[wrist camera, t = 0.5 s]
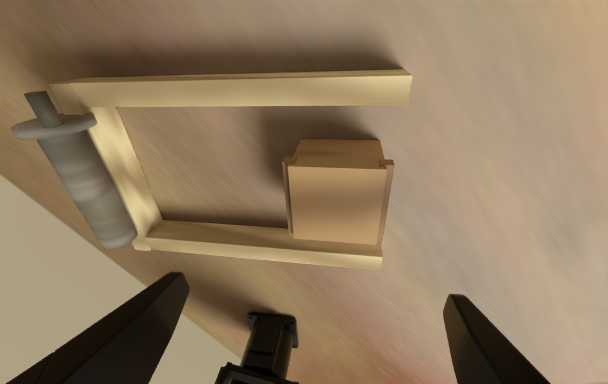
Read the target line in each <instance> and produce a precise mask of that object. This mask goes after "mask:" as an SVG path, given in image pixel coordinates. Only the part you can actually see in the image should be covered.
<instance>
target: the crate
mask: <svg viewBox="0 0 608 384" xmlns="http://www.w3.org/2000/svg"><path fill="white" fill-rule="evenodd" d="M282 166H283V177H284V187H285V198H286V208H287V219H288V229H289V236H294V239H306V240H318V241H331V242H344V243H357V244H370V245H376V243H377V242H380V243H382V240H383V234H384V228H385V221H386V215H387V209H388V202H389V196H390V190H391V183H392V177H393V171H394V163H393V160H385V159H384V155H383V151H382V147H381V143H380V140H338V139H301V140H300V142H299V144H298V146H297V148H296V150H295V152H294V154H293V156H292V157H284V159H283V161H282Z"/></svg>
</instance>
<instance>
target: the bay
mask: <svg viewBox="0 0 608 384" xmlns="http://www.w3.org/2000/svg"><path fill="white" fill-rule="evenodd" d="M412 77H413V75H411V74H410V73H409V72H407V71H406V70H404V69H396V70H358V71H321V72H283V73H246V74H208V75H171V76H133V77H96V78H82V79H76V80H70V81H64V82H58V83H52V84H48V85H49V87H50V89H51V90H52V92H53V94H54V96H55V98H56V100H57V102H58V104H59V106H60V108H61V109H62V111H63V114H58V113H57V111H56V109H55V107H54V105H53V104H52V102H51V100H50V98H49V96H48V94H47V92H46V91H38V92H30V93H25V94H24V95H25V97H26V99H27V101H28V102H29V104H30V106H31V107H32V109H33V111H34V113H35V114H36V116H37V118H36V119H32V120H28V121H24V122H21V123H18V124H16V125H14V126H12V127H11V130H12V132H13V133H14V135H15V136H16V138H17V139H20V140H37V142H38V143H39V145H40V146H41V148H42V150H43V151H44V153H45V155H46V156H47V158H48V159H49V161H50V163H51V164H52V166H53V168H54V169H55V171H56V172H57V174H58V176H59V177H60V179H61V181H62V182H63V184H64V185H65V187H66V189H67V190H68V192H69V194H70V195H71V197H72V198H73V200H74V202H75V203H76V205H77V207H78V208H79V210H80V211H81V213H82V215H83V216H84V218H85V220H86V221H87V223H88V224H89V226H90V228H91V229H92V231H93V233H94V234H95V236H96V237H97V239H98V241H99V242H100V244H101V246H102V247H103V248H104V249H107V250H112V249H117V248H121V247H123V246H125V245H127V244H129V243H131V242H132V244H133V246H134V248H135V250H145V251H150V250H162V251H173V252H184V253H195V254H206V255H217V256H228V257H239V258H250V259H261V260H272V261H282V262H293V263H304V264H315V265H326V266H337V267H348V268H359V269H370V270H381V265H382V259H383V256H382V248H381V243H380V242H377V243H376V245H370V244H357V243H344V242H331V241H318V240H306V239H294V236H289V229H286V228H272V227H258V226H244V225H229V224H215V223H201V222H187V221H173V220H163V219H162V217H161V214H160V212H159V209H158V207H157V205H156V202H155V200H154V197H153V195H152V193H151V190H150V188H149V185H148V183H147V181H146V178H145V176H144V173H143V171H142V169H141V166H140V164H139V161H138V159H137V157H136V154H135V152H134V149H133V147H132V145H131V142H130V140H129V137H128V135H127V133H126V130H125V128H124V125H123V123H122V121H121V118H120V116H119V113H118V111H117V109H116V107H184V106H356V105H408V101H409V95H410V89H411V83H412Z"/></svg>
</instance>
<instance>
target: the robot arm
mask: <svg viewBox="0 0 608 384" xmlns="http://www.w3.org/2000/svg"><path fill="white" fill-rule="evenodd" d="M188 294H189V285H188V283H187V281H186V278H185V276H184V274H183V273H182V272H169V273H168V274H166V275H165V276H163V277H162V278H160V279H159V280H157V281H156V282H155V283H153V284H152V285H150V286H149V287H147V288H146V289H144V290H143V291H141V292H140V293H139V294H137V295H136V296H134V297H133V298H131V299H130V300H128V301H127V302H125V303H124V304H123V305H121V306H120V307H118V308H117V309H115V310H114V311H112V312H111V313H109V314H108V315H106V316H105V317H103V318H102V319H101V320H99V321H98V322H96V323H95V324H93V325H92V326H90V327H89V328H87V329H86V330H85V331H83V332H82V333H80V334H79V335H77V336H76V337H74V338H73V339H71V340H70V341H68V342H67V343H66V344H64V345H63V346H61V347H60V348H58V349H57V350H55V352H54V353H51V354H50V355H48V356H46V357H45V358H44V359H42V360H41V361H39V362H38V363H36V364H35V365H33V366H32V367H30V368H29V369H28V370H26V371H24V372H23V373H21V374H20V375H18V376H17V377H15V378H14V379H12V380H11V381H9V382H7V383H6V384H148V383H149V381H150V379H151V377H152V375H153V373H154V371H155V369H156V367H157V365H158V363H159V361H160V359H161V357H162V355H163V353H164V351H165V349H166V347H167V345H168V343H169V341H170V339H171V337H172V334H173V332H174V330H175V327H176V325H177V322H178V320H179V317H180V315H181V312H182V310H183V307H184V304H185V302H186V299H187V297H188ZM443 317H444V323H445V328H446V333H447V338H448V343H449V348H450V353H451V358H452V363H453V367H454V372H455V375H456V379H457V382H458V384H551V383H550V382H549V381H548V380H547V379H546V378H545V377H544V376H543V375H542V374H541V373H540V372H539V371H538V370H537V369H536V368H535V367H534V366H533V365H532V364H531V363H530V362H529V361H528V360H527V359H526V358H525V357H524V356H523V355H522V354H521V353H520V351H519V350H518V349H517V348H516V347H515V346H514V345H513V344H512V343H511V342H510V341H509V340H508V339H507V338H506V337H505V336H504V335H503V334H502V333H501V332H500V331H499V330H498V329H497V328H496V327H495V326H494V325H493V324H492V323H491V322H490V321H489V320H488V318H487V317H486V316H485V315H484V314H483V313H482V312H481V311H480V310H479V309H478V308H477V307H476V306H475V305H474V304H473V303H472V302H471V301H470V300H469V299H468V298H467V297H466V296H464V295H461V294H449V295H448V298H447V301H446V304H445V307H444V310H443ZM247 319H248V323H249V326H250V330H251V334H250V337H249V340H248V343H247V346H246V349H245V352H244V355H243V358H242V361H241V364H240V366H237V365H234V364H232V363H230V362H227V365H226V366H225V367H221V369H220V371H219V374H218V377H217V379H216V382H215V384H299V382H295V381H294V382H292V381H289V380H286V376H287V371H288V366H289V361H290V355H291V350H292V348H298V344H299V343H298V332H297V322H296V319H294V318H290V317H282V316H274V315H266V314H258V313H248V315H247Z"/></svg>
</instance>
